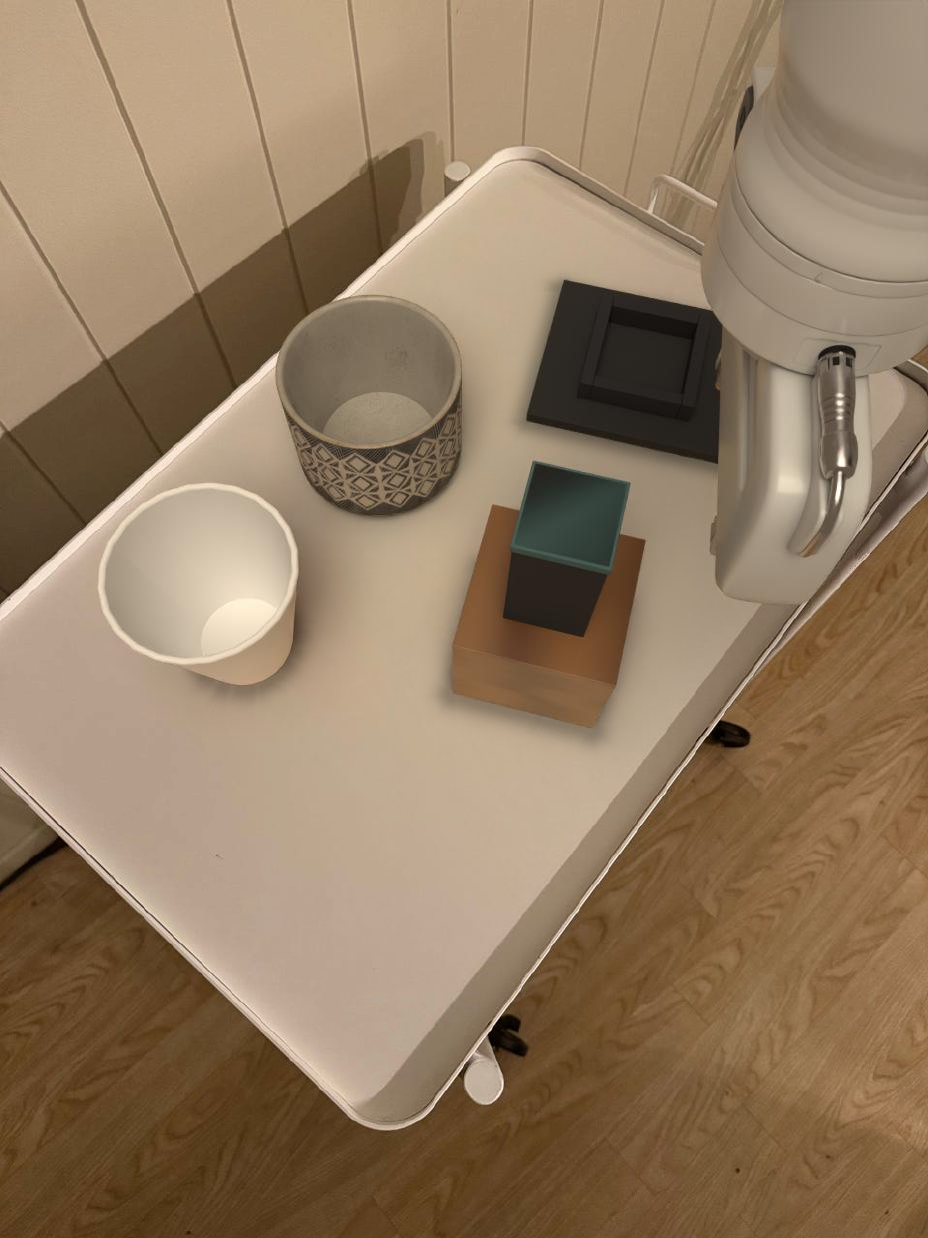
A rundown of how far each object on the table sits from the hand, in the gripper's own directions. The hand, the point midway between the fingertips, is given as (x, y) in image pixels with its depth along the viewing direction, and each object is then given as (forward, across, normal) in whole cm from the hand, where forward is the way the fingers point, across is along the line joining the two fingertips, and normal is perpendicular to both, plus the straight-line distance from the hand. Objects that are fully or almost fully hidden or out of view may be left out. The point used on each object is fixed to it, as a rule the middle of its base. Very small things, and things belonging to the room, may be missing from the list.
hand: (728, 459), depth 43 cm
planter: (+22, +12, +22) cm, 33 cm away
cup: (+22, -5, +29) cm, 36 cm away
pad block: (+12, -3, +8) cm, 15 cm away
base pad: (+22, +22, +2) cm, 31 cm away
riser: (+22, -3, +8) cm, 24 cm away
